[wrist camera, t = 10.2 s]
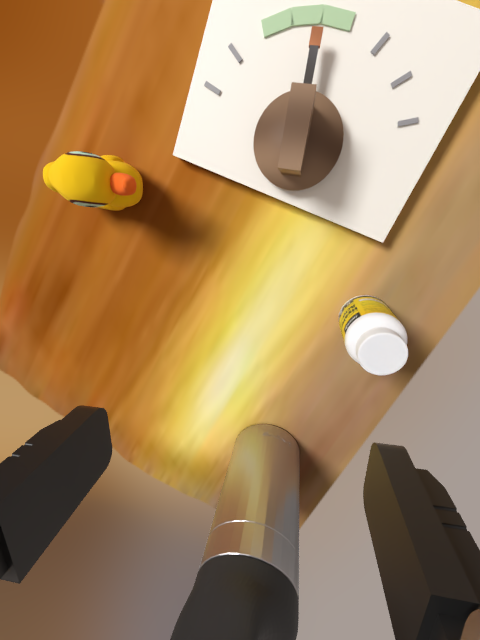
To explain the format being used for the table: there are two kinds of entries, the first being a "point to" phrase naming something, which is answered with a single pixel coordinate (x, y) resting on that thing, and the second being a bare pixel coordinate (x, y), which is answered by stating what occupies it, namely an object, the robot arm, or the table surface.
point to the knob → (299, 132)
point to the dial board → (334, 94)
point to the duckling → (94, 180)
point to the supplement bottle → (373, 335)
